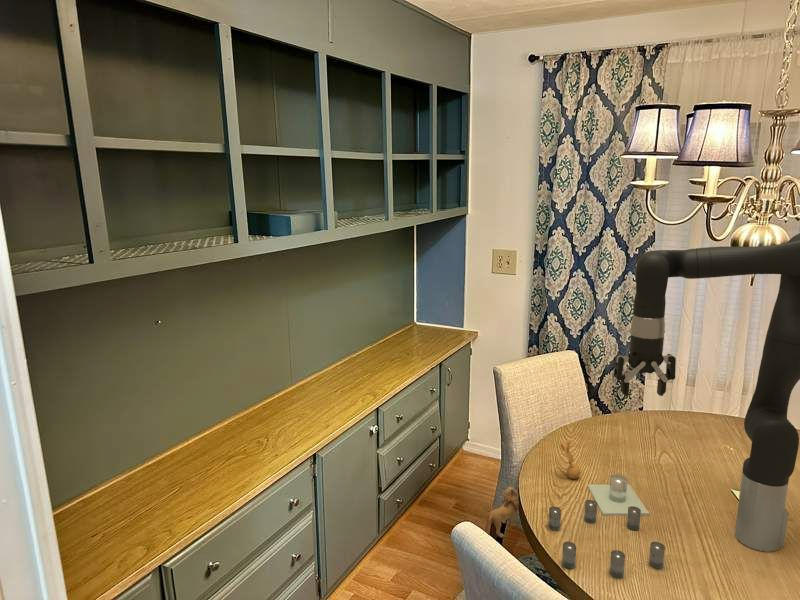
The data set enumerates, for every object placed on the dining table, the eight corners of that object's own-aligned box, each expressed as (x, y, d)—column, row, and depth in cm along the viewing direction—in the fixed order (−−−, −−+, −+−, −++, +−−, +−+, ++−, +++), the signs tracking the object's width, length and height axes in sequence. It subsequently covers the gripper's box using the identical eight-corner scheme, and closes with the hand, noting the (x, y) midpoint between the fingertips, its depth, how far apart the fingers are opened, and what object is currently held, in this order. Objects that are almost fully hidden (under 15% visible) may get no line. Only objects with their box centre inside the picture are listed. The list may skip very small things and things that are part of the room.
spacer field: (632, 516, 145) (633, 499, 144) (671, 578, 122) (673, 559, 121) (544, 516, 146) (545, 499, 145) (567, 578, 123) (568, 558, 122)
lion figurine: (504, 511, 148) (504, 481, 146) (522, 518, 145) (523, 487, 143) (478, 540, 137) (479, 508, 135) (498, 548, 134) (498, 515, 132)
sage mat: (629, 486, 159) (629, 484, 158) (648, 515, 145) (649, 513, 145) (587, 486, 159) (587, 484, 159) (603, 515, 145) (603, 513, 145)
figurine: (581, 485, 159) (583, 448, 157) (560, 483, 161) (561, 446, 158) (578, 471, 167) (580, 435, 165) (558, 469, 169) (559, 433, 166)
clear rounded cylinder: (622, 493, 154) (623, 474, 153) (628, 502, 150) (629, 483, 148) (606, 493, 154) (607, 474, 153) (612, 502, 150) (613, 483, 149)
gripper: (670, 328, 138) (664, 389, 141) (612, 329, 138) (608, 389, 142) (684, 337, 130) (678, 400, 134) (623, 337, 131) (619, 401, 134)
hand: (642, 395), depth 138 cm, fingers open, 8 cm apart
